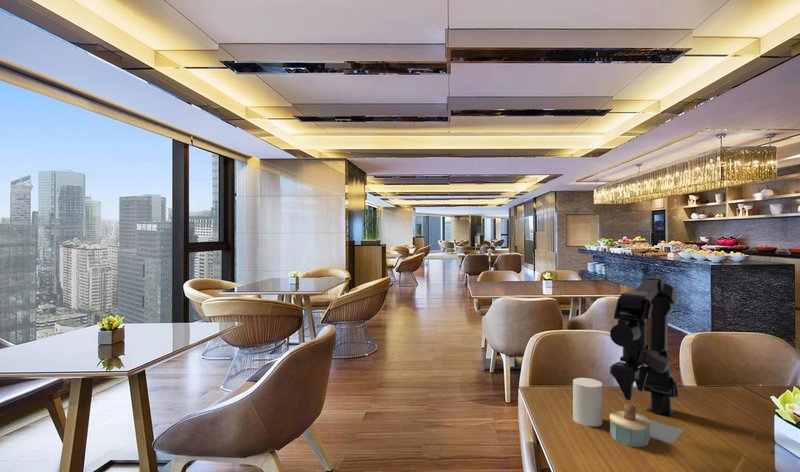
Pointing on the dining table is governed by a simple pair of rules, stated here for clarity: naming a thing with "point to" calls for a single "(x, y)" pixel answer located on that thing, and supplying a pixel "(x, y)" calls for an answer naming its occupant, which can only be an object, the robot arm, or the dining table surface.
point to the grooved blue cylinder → (630, 436)
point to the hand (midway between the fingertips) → (634, 395)
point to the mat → (664, 432)
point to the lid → (630, 418)
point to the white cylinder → (587, 402)
